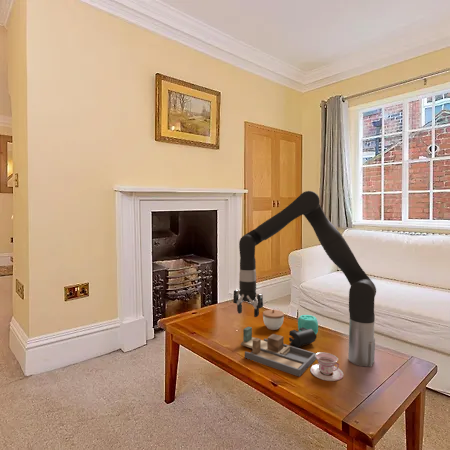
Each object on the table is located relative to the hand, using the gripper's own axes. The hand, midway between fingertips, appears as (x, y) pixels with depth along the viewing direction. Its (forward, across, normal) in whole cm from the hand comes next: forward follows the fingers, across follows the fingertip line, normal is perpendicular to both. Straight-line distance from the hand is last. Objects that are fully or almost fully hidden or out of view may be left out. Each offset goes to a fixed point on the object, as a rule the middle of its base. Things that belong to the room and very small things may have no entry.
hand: (247, 314), depth 142 cm
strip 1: (+14, -9, 0) cm, 16 cm away
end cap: (+14, -20, -15) cm, 28 cm away
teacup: (+15, -36, +2) cm, 39 cm away
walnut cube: (+12, -14, 0) cm, 18 cm away
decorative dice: (+14, -17, -29) cm, 36 cm away
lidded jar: (+14, 0, -25) cm, 28 cm away
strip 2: (+14, -18, +8) cm, 24 cm away
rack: (+14, -18, +3) cm, 23 cm away
